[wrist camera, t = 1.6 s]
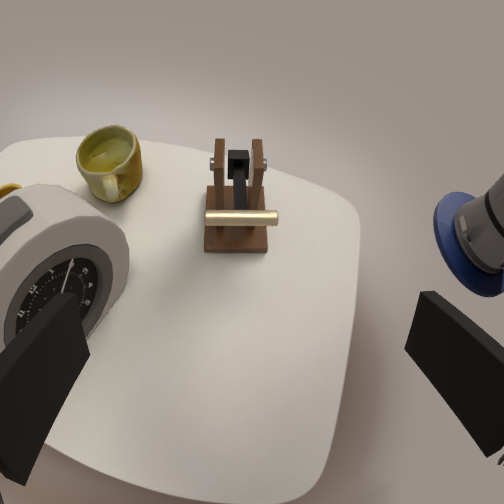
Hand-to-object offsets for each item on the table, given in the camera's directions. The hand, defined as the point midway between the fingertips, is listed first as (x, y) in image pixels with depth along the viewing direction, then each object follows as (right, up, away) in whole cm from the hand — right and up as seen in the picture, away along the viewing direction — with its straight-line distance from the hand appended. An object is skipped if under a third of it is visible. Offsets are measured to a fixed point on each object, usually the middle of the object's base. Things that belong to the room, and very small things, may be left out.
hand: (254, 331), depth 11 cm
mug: (-20, +12, +33) cm, 40 cm away
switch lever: (-1, +8, +18) cm, 20 cm away
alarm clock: (-23, -5, +24) cm, 33 cm away
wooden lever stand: (-2, +7, +31) cm, 32 cm away
